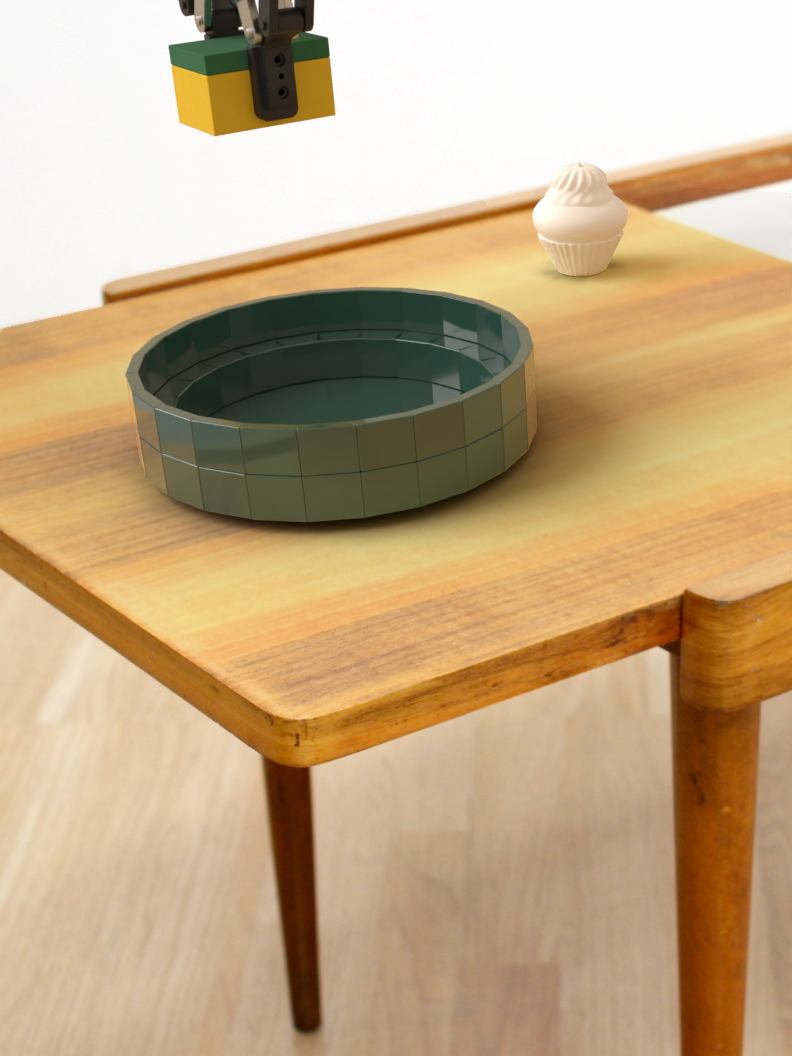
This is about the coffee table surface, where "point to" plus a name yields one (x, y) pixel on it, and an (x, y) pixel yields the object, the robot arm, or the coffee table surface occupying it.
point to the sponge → (244, 83)
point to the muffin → (580, 220)
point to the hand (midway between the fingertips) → (255, 109)
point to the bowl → (333, 403)
